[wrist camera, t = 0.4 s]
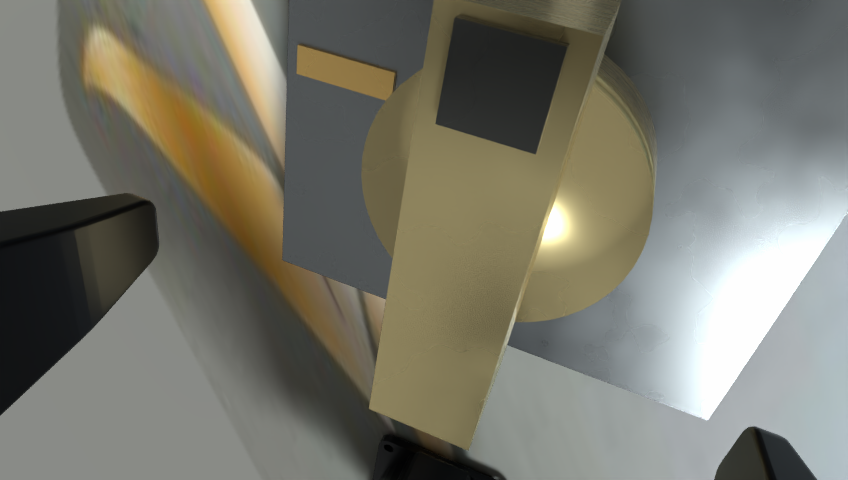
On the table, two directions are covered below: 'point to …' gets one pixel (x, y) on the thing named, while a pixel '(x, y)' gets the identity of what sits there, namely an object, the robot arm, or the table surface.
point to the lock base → (674, 188)
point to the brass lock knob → (500, 196)
